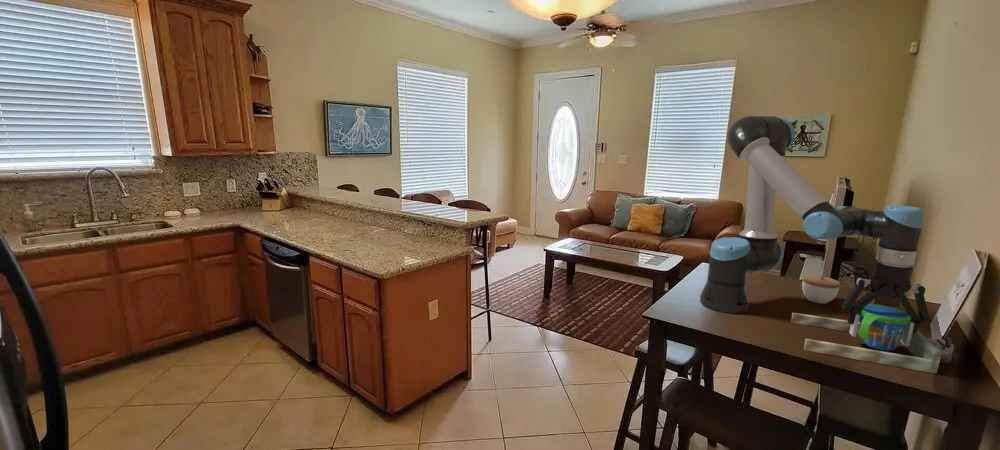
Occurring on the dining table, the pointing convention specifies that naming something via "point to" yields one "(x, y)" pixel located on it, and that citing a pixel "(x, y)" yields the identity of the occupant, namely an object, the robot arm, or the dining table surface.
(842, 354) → the bay
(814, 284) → the lidded jar
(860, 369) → the dining table surface
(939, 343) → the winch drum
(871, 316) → the snack cup
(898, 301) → the can
